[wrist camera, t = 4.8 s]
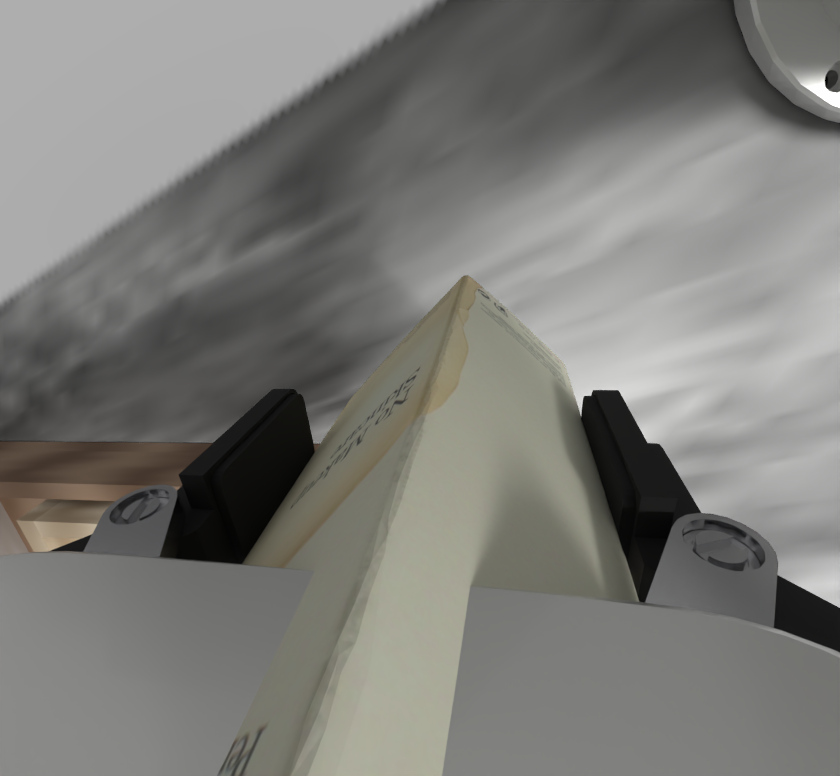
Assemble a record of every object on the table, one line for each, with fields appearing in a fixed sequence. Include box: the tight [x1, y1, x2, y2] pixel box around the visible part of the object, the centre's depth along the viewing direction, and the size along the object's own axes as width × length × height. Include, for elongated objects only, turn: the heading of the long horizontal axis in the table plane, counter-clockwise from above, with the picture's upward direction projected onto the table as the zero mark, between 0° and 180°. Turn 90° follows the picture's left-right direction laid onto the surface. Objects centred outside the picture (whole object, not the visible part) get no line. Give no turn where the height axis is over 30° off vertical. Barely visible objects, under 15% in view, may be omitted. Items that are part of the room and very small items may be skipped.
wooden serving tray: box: [0, 441, 320, 556], centre depth 25 cm, size 29×16×5 cm, turn 94°
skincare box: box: [217, 275, 639, 776], centre depth 9 cm, size 6×4×12 cm
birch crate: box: [16, 499, 115, 552], centre depth 24 cm, size 20×13×4 cm, turn 94°
